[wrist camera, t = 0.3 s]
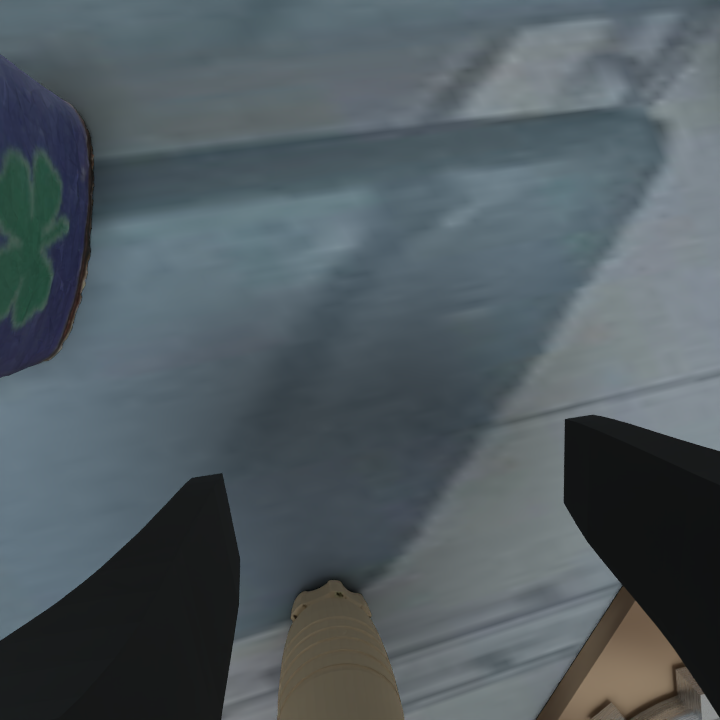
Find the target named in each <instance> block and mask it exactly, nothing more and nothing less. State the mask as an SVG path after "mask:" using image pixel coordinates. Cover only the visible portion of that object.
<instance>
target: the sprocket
mask: <svg viewBox="0 0 720 720" xmlns="http://www.w3.org/2000/svg"><path fill="white" fill-rule="evenodd" d="M676 682H677V696H674V697H672V698H669V699H667V700H664V701H662V702H660V703H657V704H655V705H654V706H652V707H650V708H648V709H646V710H644V711H642V712H641V713H639V714H637V715H636V716H635V717H633V718H632V719H630V720H720V718H719V716H718V715H717V713H716V712H715V710H714V708H713V707H712V705H711V704H710V702H709V700H708V699H707V697H706V696H705V694H704V693H703V691H702V690H701V688H700V687H699V685H698V684H697V682H696V681H695V679H694V678H693V676H692V675H691V673H690V672H689V670H688V669H687V667H683V668H679V669H676ZM591 720H626V719H625V718H624V717H623V715H622V714H621V713H620V712H619V711H618V710H617V708H616V707H615V706H614V705H613V704H612V703H610V704H609V705H608V706H606V707H605V708H604V709H603V710H602V711H600V712H599V713H598V714H597V715H596V716H594V717H593V718H592V719H591Z"/></svg>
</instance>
